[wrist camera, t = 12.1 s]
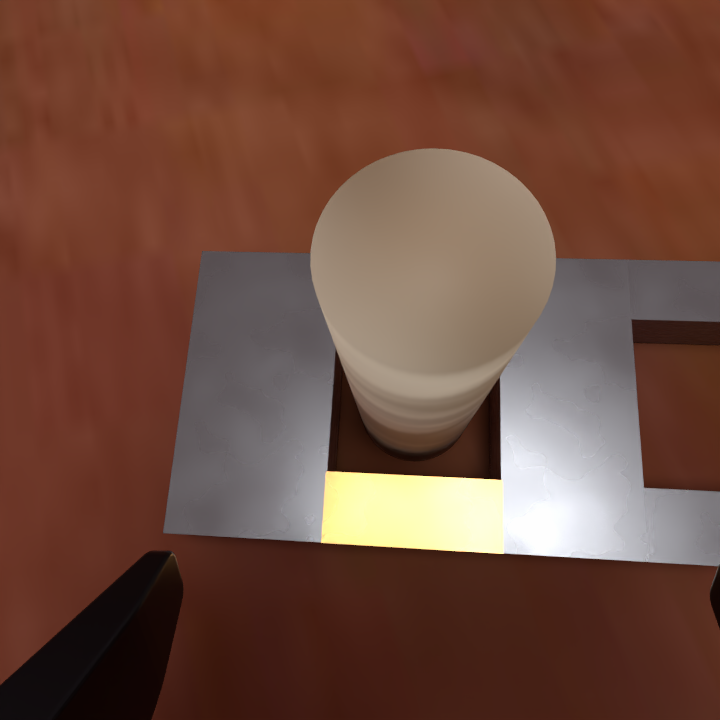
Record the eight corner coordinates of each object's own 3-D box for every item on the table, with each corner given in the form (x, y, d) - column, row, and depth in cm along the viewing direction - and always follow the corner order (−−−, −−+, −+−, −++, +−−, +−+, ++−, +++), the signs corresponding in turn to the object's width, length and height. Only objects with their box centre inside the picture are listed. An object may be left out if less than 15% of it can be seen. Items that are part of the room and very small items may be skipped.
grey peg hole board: (899, 294, 22) (968, 262, 19) (957, 577, 19) (1047, 585, 17) (222, 278, 24) (199, 247, 21) (189, 532, 21) (159, 533, 19)
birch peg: (411, 483, 21) (427, 425, 9) (339, 404, 22) (261, 251, 10) (490, 410, 22) (608, 257, 9) (416, 335, 23) (435, 107, 10)
